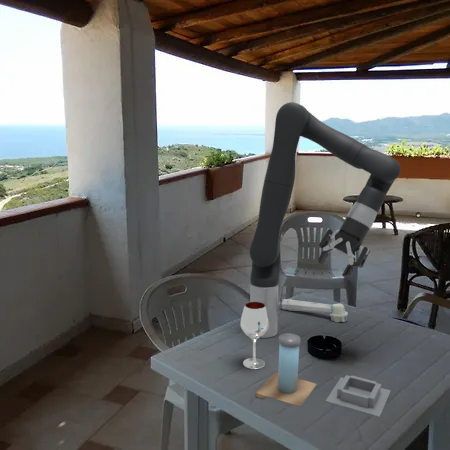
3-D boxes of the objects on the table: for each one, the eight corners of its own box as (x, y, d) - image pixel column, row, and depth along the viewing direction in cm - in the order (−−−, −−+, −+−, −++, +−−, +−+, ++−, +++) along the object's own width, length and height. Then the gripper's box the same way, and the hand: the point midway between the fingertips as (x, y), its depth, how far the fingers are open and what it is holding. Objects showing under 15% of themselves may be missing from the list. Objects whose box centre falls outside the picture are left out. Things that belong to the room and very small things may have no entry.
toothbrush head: (284, 297, 180) (348, 300, 167) (286, 313, 181) (349, 318, 167) (278, 301, 176) (343, 305, 162) (280, 318, 176) (345, 323, 163)
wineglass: (271, 359, 138) (272, 302, 135) (264, 373, 131) (265, 312, 127) (244, 355, 141) (245, 298, 137) (236, 368, 133) (236, 308, 130)
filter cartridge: (273, 389, 120) (275, 339, 117) (281, 380, 125) (283, 331, 122) (293, 396, 117) (296, 344, 114) (300, 386, 122) (303, 336, 119)
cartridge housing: (325, 404, 115) (326, 391, 115) (340, 380, 127) (341, 368, 126) (379, 420, 109) (380, 406, 108) (390, 394, 120) (391, 381, 119)
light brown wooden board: (255, 396, 119) (255, 392, 119) (275, 375, 129) (275, 372, 129) (300, 410, 113) (300, 406, 113) (316, 387, 123) (316, 383, 123)
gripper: (333, 208, 138) (307, 256, 138) (375, 227, 129) (347, 279, 129) (343, 215, 143) (318, 261, 144) (384, 234, 134) (357, 283, 135)
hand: (332, 270), depth 137 cm, fingers open, 8 cm apart
